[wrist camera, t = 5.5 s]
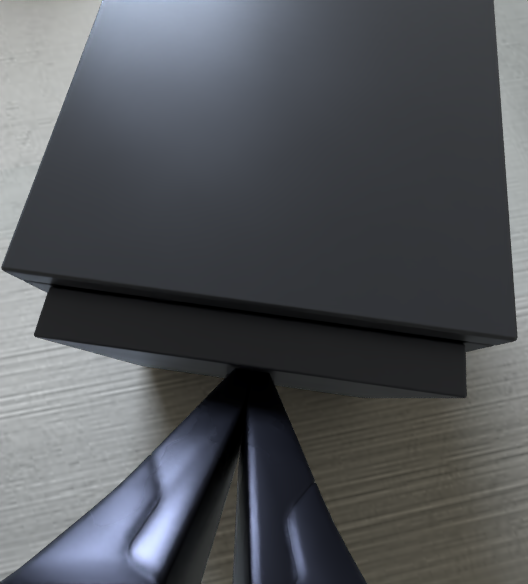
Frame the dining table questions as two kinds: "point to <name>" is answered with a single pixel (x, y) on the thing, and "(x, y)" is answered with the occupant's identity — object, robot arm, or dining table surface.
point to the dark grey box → (284, 165)
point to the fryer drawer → (254, 345)
